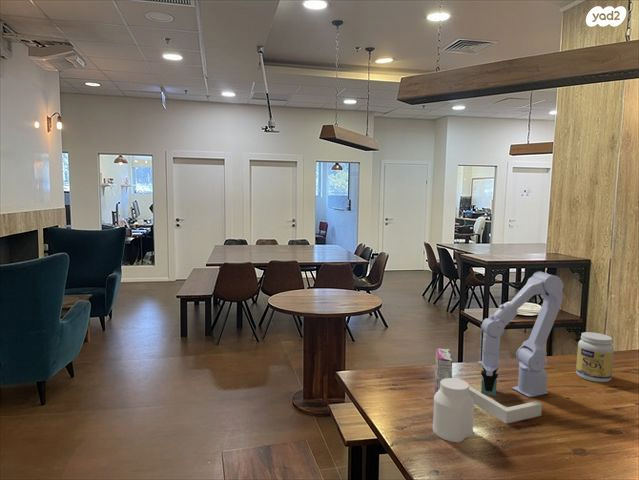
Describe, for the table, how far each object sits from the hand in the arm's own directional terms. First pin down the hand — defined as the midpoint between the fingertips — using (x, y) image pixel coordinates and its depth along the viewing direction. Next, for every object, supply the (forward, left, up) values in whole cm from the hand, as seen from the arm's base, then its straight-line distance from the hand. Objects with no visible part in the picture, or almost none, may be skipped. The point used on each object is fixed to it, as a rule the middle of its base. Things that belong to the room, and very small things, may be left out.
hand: (488, 387), depth 158 cm
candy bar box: (+20, -1, -2) cm, 20 cm away
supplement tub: (-50, +4, -2) cm, 50 cm away
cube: (0, 0, -1) cm, 1 cm away
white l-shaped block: (+4, +10, -1) cm, 11 cm away
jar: (+31, +18, -2) cm, 36 cm away
